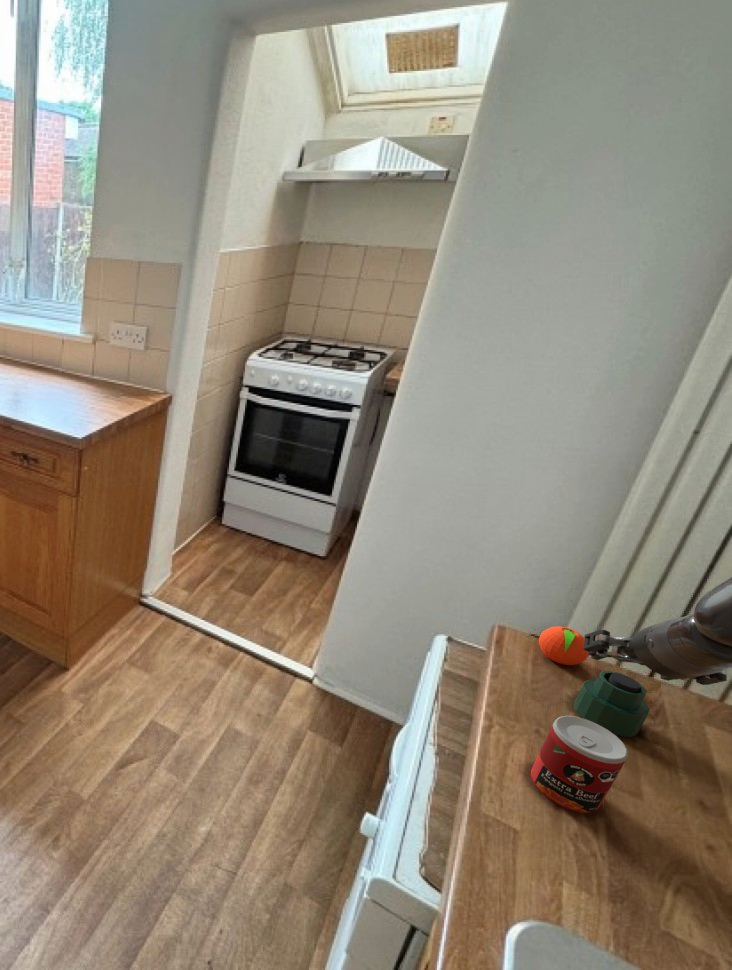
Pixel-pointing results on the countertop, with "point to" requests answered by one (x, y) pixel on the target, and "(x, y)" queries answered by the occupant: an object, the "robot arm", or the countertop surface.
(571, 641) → the clementine
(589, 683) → the green pipe coupling
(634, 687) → the plug
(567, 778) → the canned food
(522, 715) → the countertop surface
